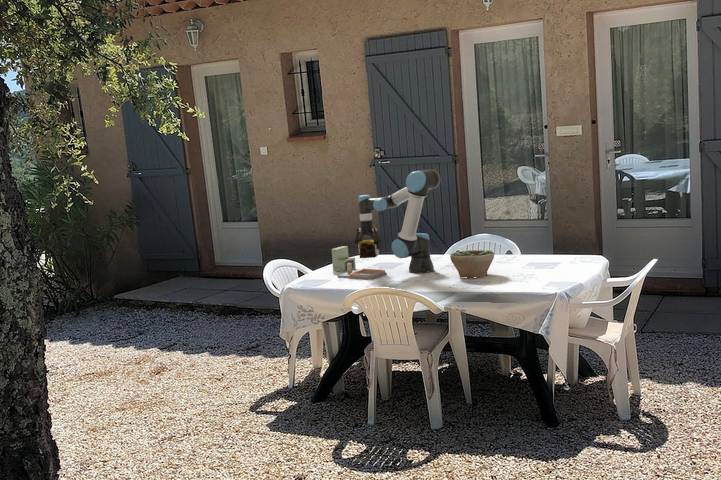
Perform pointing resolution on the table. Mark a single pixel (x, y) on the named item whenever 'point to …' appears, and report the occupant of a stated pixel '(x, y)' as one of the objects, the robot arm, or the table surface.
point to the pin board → (362, 273)
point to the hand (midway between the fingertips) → (369, 254)
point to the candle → (367, 249)
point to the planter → (472, 262)
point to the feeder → (341, 259)
